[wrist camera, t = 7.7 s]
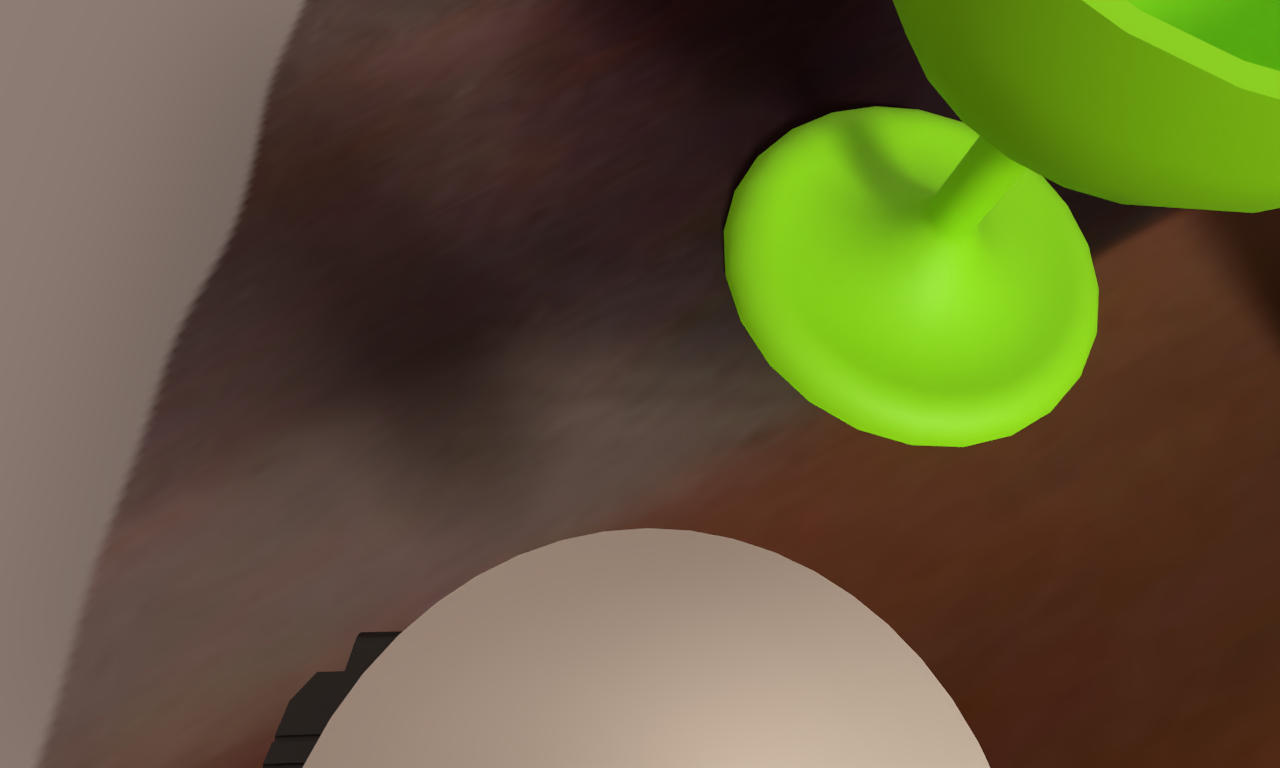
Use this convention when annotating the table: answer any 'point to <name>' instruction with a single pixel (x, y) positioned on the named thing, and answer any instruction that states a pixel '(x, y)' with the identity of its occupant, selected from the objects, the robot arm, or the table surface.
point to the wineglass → (993, 203)
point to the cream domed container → (648, 669)
